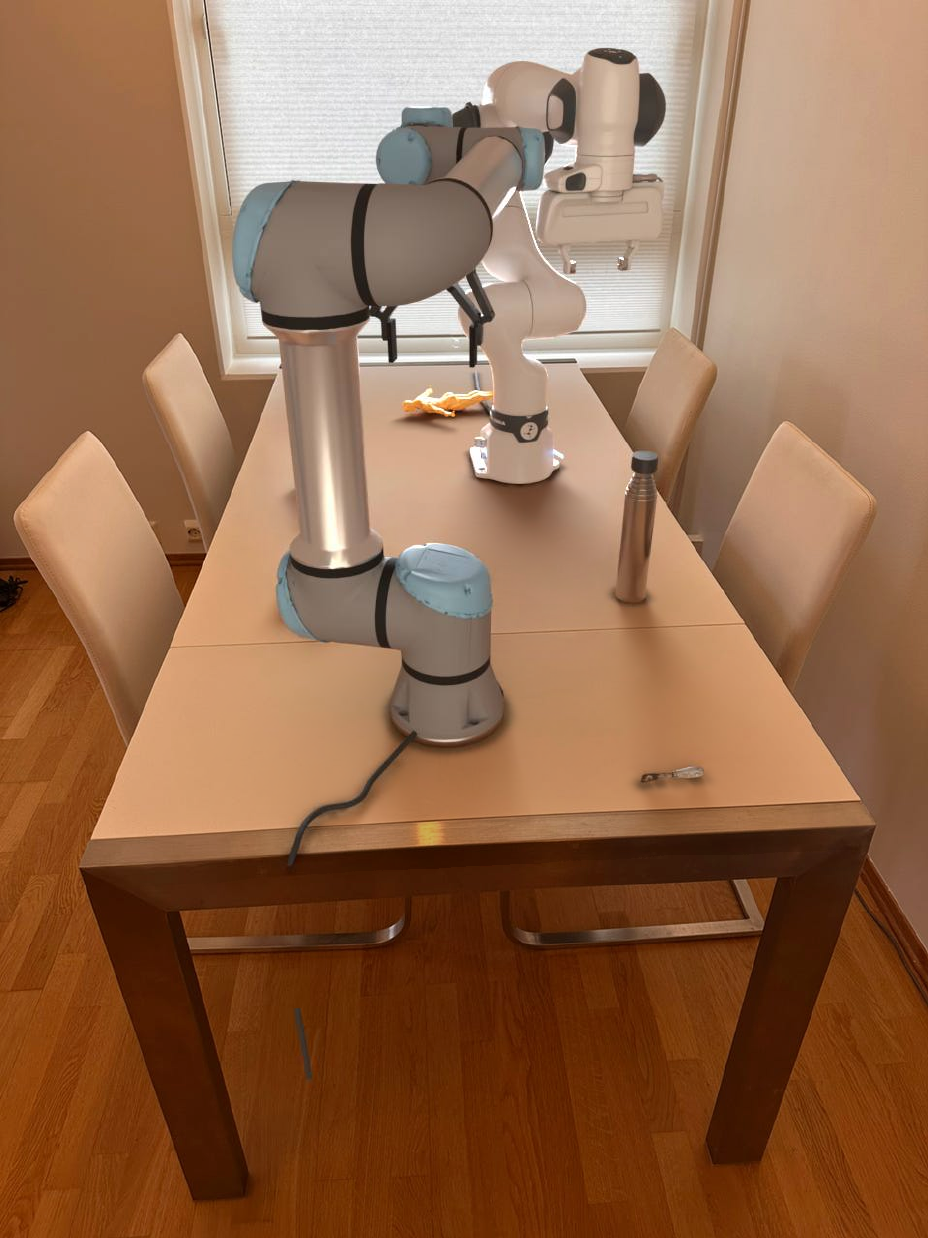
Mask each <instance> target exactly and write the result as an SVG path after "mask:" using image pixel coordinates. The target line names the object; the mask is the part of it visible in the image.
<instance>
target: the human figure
mask: <svg viewBox="0 0 928 1238" xmlns="http://www.w3.org/2000/svg"><path fill="white" fill-rule="evenodd" d="M424 391H425V392H423V393H422V394H420V395H418V396H416V398H415V399H414V400H404V401H403V402H402V411H404V412H405V413H410V414H412V413H414V412H417V408H418V409H420V410H421V411H423V412H424V413H427V414H439V415H443V416H444V417H449V416H450V417H451V418H452V417H453V418H454V417H455V416H456V414H455V411H462V410H464V409H467V408H469V407H471V406H473V405H476V404H478V403H482V401H485V402H486V401H488V400H493V390H491V391H481V390H480V391H481V392H480V391H477V389H476V390H473V391H470V392H469V393H468V394H460V393H457V394H455V393H453V392H446V393H444V394H443V395H442V396H441V397H440V398H434V397H429V396H430V395H432V394H433V392H434V391H433V389H432V385H429V387H428V389H424ZM450 410H452V411H450Z"/></svg>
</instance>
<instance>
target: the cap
mask: <svg viewBox="0 0 928 1238" xmlns="http://www.w3.org/2000/svg"><path fill="white" fill-rule="evenodd" d="M630 463H631V465H630V468H631V471H632V472H634V473H635V472H636V473H640V474H651V473H652V474H654V473H656V472H657V471H658V467H659V454H657V452H656V453H655V452H654V451H648V450H638V451H635V452H633V453H632V456H631V462H630Z"/></svg>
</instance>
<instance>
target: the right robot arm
mask: <svg viewBox="0 0 928 1238" xmlns="http://www.w3.org/2000/svg"><path fill="white" fill-rule="evenodd" d="M639 67H640V66H639V61H638V57H637V56H636V55H635V54H634V53H633V52H631V51H629V50H626V49H622V48H615V47H598V48H594V49H591V50H589V51H587V53H585V55H584V57H583V60H582V64H581V66H580V67H579V68H578V69H577V70H576V71H575V72H573V73H572V74H571V73H567V72H564V71H561V70H558V69H555V68H553V67H549V66H547V65H544V64H540V63H537V62H534V61H528V60H527V61H526V60H518V61H511V62H507V63H504V64H502V65H500V66H499V67H497V68H496V69H495V70H493V71H492V72H491V73H490V75H489V76H488V78H487V80H486V82H485V84H484V89H483V99H482V102H480V103H479V104H472V102H471V101H468V102H466V103H465V105H464V106H463V108H461V109H458V110H457V111H455V112H452V119H453V127H468V128H503V127H516V126H520V127H522V128H535V129H539V130H540V131H541V132H542V133H543V136H544V142H545V164H544V167H545V166H546V165H547V163H548V162H549V161H550V159H551V157H552V155H553V152H554V151H553V150H554V144H555V142H556V143H557V144H559V145H560V146H561V145H562V146H566V147H570V148H571V147H572V148H573V147H576V149H575V155H574V161H572V162H570V163H568V164H565V165H563V166H560V167H558V168H555V169H553V170H550V171H547V172H546V173H545V174H543V187H544V188H546V189H547V190H545V191H544V192H543V193H542V195H541V196H540V198H539V201H538V207H537V211H536V222H535V237H536V239H537V241H539V242H540V243H541V244H543V245H545V246H556V245H557V246H556V251H557V253H558V254H559V256H560V258H561V260H562V263H563V265H562V272H563V274H564V275H563V274H561V273H559V271H557V270H556V269H555V268H554V267H553V266H552V265H551V264H550V263H549V262H548V261H547V260H546V258H545V257H544V256H543V254H542V253H541V251H540V249H539V248H538V245H537V243H536V240H535V237H534V233H533V230H532V227H531V223H530V219H529V217H528V213H527V209H526V206H525V202H524V200H523V196H522V192H518V191H514V192H513V194H512V195H511V197H510V198H509V200H508V202H507V203H506V205H505V206H504V208H503V209H502V211H501V213H500V214H499V216H498V217H497V219H496V220H495V222H494V224H493V237H492V241H491V244H490V246H489V248H488V251H487V252H486V254H485V255H484V257H483V259H482V260H481V261H480V263H481V264H482V266H483V268H484V269H485V270H486V272H487V273H488V274H489V275H491V276H492V277H494V278H496V279H498V280H500V281H501V282H493V283H487V284H482V286H483V288H484V290H485V293H486V295H487V297H488V299H489V301H490V304H491V306H492V308H493V310H494V312H495V317H494V319H493V320H492V321H491V322H487V323H485V324H484V332H483V343H482V345H481V346H478V348H480V350H481V351H482V352H483V354H484V355H485V357H486V359H487V361H488V363H489V367H490V369H491V376H492V377H491V378H492V391H493V398H492V402H493V403H491V404H492V406H491V408H490V406H489V405H488V404H487V402H486V400H485V401H482V402H481V403H482V405H483V407H484V408H485V410H486V411H487V413H488V414H489V422H488V423H487V424H486V425H485V426H483V427H482V428H481V430H480V431H479V436H478V437H477V436H476V437H474V446H473V447H470V449H469V456H470V460H471V464H472V467H473V471H474V475H475V477H477V478H480V479H489V480H492V481H493V480H494V481H497V482H500V483H506V484H518V485H523V484H524V485H525V484H532V483H539V482H542V481H544V480H545V479H547V478H549V477H550V476H551V475H552V473H553V472H554V471H556V470H558V469H559V468H560V462H559V460H557V459H555V456H557V457H559V458H561V459H562V460H563V459H564V455H563V454H562V453H560V452H558V451H557V450H555V442H554V441H555V439H554V436H555V435H554V432H553V430H552V429H551V428H550V427H549V419H550V413H549V406H548V387H549V374H548V370H547V369H546V366H545V365H544V364H543V363H542V362H541V361H540V360H538V359H536V358H534V357H532V356H531V355H528V354H525V353H524V351H523V342H525V341H531V340H543V339H554V338H559V337H562V336H565V335H569V334H571V333H574V332H577V331H579V329H580V327H581V326H582V324H583V322H584V320H585V318H586V314H587V300H586V296H585V293H584V292H583V290H582V288H581V287H580V285H578V283H576V282H575V281H573V280H571V279H569V278H567V277H565V275H575V274H576V272H577V269H576V268H577V262H576V261H574V260H571V258H570V256H569V253H568V252H571V250H572V249H571V248H572V245H573V244H574V245H577V244H591V243H608V242H625V246H626V247H627V248H626V250H625V252H624V254H623V255H622V257H617V270H618V271H620V272H623V271H630V270H631V267H632V266H631V265H632V259H633V258H634V256H635V255H636V253H637V252H638V250H639V249H640V242H641V241H643V240H656V239H658V237H659V236H660V235H661V233H662V232H663V224H664V223H663V220H664V217H663V216H664V215H663V214H664V213H663V211H664V210H663V209H664V208H663V200H664V195H665V182H664V180H663V179H662V177H660V176H658V174H656V173H648V174H642V173H636V174H635V173H634V171H635V170H634V168H635V158H636V155H635V154H636V148H635V147H638V148H639V147H640V148H641V147H642V148H643V147H645V146H646V145H647V144H648V143H650V141H651V140H653V138H654V137H655V136H656V135H657V133H658V132H659V130H660V129H661V127H662V126H663V123H664V122H665V117H666V111H667V102H666V101H667V99H666V95H665V93H664V90H663V88H662V87H661V85H660V83H659V82H658V81H657V79H656V78H655V77H654V76H653V75H652V74H651V73H650V72H643V73H640V68H639ZM465 293H466V294H467V296H468V297H469V298H470V300H471V301H472V302H473V304H474V305H475V306H476V307H477V309H478V310H479V311H480V313H481V314H482V312H481V310H480V307H479V305H478V303H477V301H476V299H475V296H474V294H473V292H472V290H471V288H469V289H467V290H466V291H465ZM457 319H458V324H459V326H460V329H461V331H462V332H463V334H464V335H465V336H466V338H467V339H469V326H470V325H471V324H472V321H471V319H470V318H469V317H468V315H467V314H466V313H465V312H464V310H463V309H462V308H461V306H460V305H459V304H458V309H457ZM473 374H474V382H475V388H476V391H480V392H482V391H481V387H480V382H479V376H478V371H477V370H474V372H473Z"/></svg>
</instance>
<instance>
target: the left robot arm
mask: <svg viewBox="0 0 928 1238" xmlns="http://www.w3.org/2000/svg"><path fill="white" fill-rule="evenodd" d="M452 114H453V111H451V109H450V108H449V107H447V106H438V105H437V106H436V105H435V106H433V105H429V106H426V105H425V106H424V105H421V106H420V105H419V106H407V107H404V108H403V109H402V111H401V113H400V115H401V117H400V126H397V127H396V128H393V129H392V130H391V131H390V132H388V133H387V134H385V135H384V136H383V137H382V139H381V140H380V142H379V143H378V145H377V149H376V153H375V165H376V170H377V172H378V174H379V175H378V176H380V178H381V179H382V181H383V182H381V183H361V182H337V181H336V182H335V181H334V182H333V181H308V180H295V179H291V180H287V181H273V182H272V181H271V182H263V183H261V184H258V185H257V186H255V187H254V188H252V189H251V190H250V191H249V192H248V193H247V195H246V197H245V198H244V199H243V201H242V203H241V206H240V208H239V211H238V214H237V216H236V220H235V224H234V229H233V236H232V246H231V247H232V248H231V260H232V262H231V263H232V270H233V276H234V277H233V278H234V280H235V283H236V285H237V287H238V288H239V293H240V294H241V295H242V296H243V298H245V299H246V300H248V301H250V302H252V303H253V304H254V303H255V304H258V303H259V307H260V314H261V315H260V316H261V322H262V325H263V326H264V327H265V328H266V329H267V330H268V331H269V332H271V333H272V334H273V335H274V336H275V337H276V338H277V339H278V346H279V347H278V349H279V355H280V365H281V372H282V373H281V374H282V383H283V392H284V400H285V411H286V419H287V427H288V438H289V447H290V455H291V465H292V473H293V481H294V482H293V483H294V490H295V500H296V509H297V517H298V518H297V519H298V526H299V533H298V534H297V535H296V536H295V537H294V538H293V539H292V540H291V542H290V544H289V549H288V550H287V551H286V552H285V553H284V554H283V555H282V557H281V558H280V561H279V564H278V567H277V572H276V578H277V584H276V585H275V597H276V598H275V599H276V602H277V608H278V611H279V615H280V617H281V619H282V621H283V624H284V625H285V627H286V628H287V629H288V631H290V633H293V634H294V635H295V636H298V637H299V638H303V639H309V640H315V641H317V642H320V643H326V644H327V643H336V644H337V643H338V644H346V645H354V646H364V647H371V648H372V647H373V648H379V649H380V648H381V649H390V650H398V651H400V655H401V667H400V669H399V672H398V675H397V678H396V681H395V684H394V687H393V690H392V693H391V696H390V718H391V721H392V724H393V725H394V727H395V728H396V729H397V731H398V732H399V733H400V734H402V735H403V736H404V737H406V738H405V739H404V740H403V741H402V742H401V743H400V744H399V745H398V747H397V748H396V749H395V750H393V752H392V753H391V754H390V755H389V756H388V757H387V758H386V759H385V760H384V761H383V762H382V764H380V766H379V767H378V768H377V769H376V770H375V771H374V772H373V774H371V775H370V777H369V778H368V780H367V781H366V783H365V785H364V786H363V789H362V791H360V794H358V795H357V796H356V797H355V798H352V799H351V800H348V801H342V802H336V803H329V804H325V805H322V806H319V807H318V808H316V809H315V810H313V811H312V812H311V813H309V814H308V815H307V816H306V817H305V818H304V820H303V821H302V822H301V823H300V825H299V828H298V829H297V832H296V834H295V837H294V840H293V843H292V845H291V850H290V852H289V855H288V858H287V862H286V866H287V867H291V866H293V865H294V864H295V861H296V857H297V854H298V852H299V848H300V845H301V842H302V839H303V836H304V833H305V831H306V829H307V827H308V826H309V825H310V824H311V823H313V821H314V820H315V819H316V818H317V817H319V816H320V815H322V814H323V813H326V812H330V811H337V810H343V809H348V808H351V807H354V806H357V805H358V804H360V803H361V802H362V801H363V800H365V799H366V797H367V795H368V794H369V792H370V790H371V788H372V786H373V784H374V783H375V782H376V781H377V779H379V777H380V776H381V775H382V774H383V772H384V771H385V770H387V768H388V767H389V766H390V765H391V764H392V763H393V762H394V761H395V760H396V759H397V758H398V757H399V755H400V754H401V753H402V752H403V751H404V750H405V749H406V748H407V747H408V746H409V745H410V743H412V741H413V742H415V743H417V744H420V745H421V744H422V745H425V746H430V747H437V748H454V747H455V748H457V747H463V746H467V745H471V744H473V743H476V742H480V741H481V740H483V739H485V738H486V737H488V736H489V735H491V734H492V733H493V732H494V731H495V730H496V729H498V727H499V726H500V724H501V722H502V720H503V717H504V698H505V694H504V690H503V688H502V687H501V684H500V683H499V681H498V679H497V677H496V674H495V672H494V668H493V666H492V664H491V654H492V653H491V651H492V649H491V648H492V647H491V645H492V643H491V642H492V641H491V640H492V608H493V606H494V605H493V604H494V598H493V593H492V584H491V581H492V580H491V574H490V571H489V569H488V567H487V565H486V564H485V563H484V562H483V561H482V560H480V559H479V557H478V556H477V555H476V554H474V553H472V552H470V551H468V550H466V549H465V548H462V547H459V546H455V545H451V544H447V543H439V542H427V543H424V545H420V544H414V545H412V546H410V547H407V548H405V549H404V550H403V551H401V553H400V554H399V555H398V557H392V556H385V553H384V552H385V551H384V541H383V538H382V536H381V534H379V533H378V532H376V531H375V530H374V529H373V528H371V521H370V508H369V493H368V479H367V463H366V462H367V461H366V448H365V447H366V446H365V431H364V418H363V417H364V415H363V402H362V401H363V400H362V386H361V385H362V384H361V371H360V355H359V354H360V353H359V337H358V336H359V333H360V332H361V331H362V330H363V329H364V328H365V326H366V325H368V323H369V322H370V321H371V318H375V319H378V320H379V321H380V331H381V332H380V333H381V334H380V335H381V339H382V341H383V342H387V356H388V357H387V358H388V359H387V361H388V364H394V362H396V361H397V359H398V343H397V342H398V340H397V339H398V338H397V320H396V318H393V317H392V315H393V314H394V313H395V311H396V310H397V309H398V308H399V307H400V306H407V305H410V304H414V303H418V302H421V301H425V300H426V299H427V300H428V299H429V298H432V297H434V296H437V295H438V294H441V293H442V292H444V291H447V293H449V294H450V295H451V296H452V297H453V299H454V300H455V302H456V303H457V304H458V306H459V305H460V306H461V308H462V309H463V310H464V312H465V313H466V314H467V315H468V317H469V318H470V319H471V321H472V324H471V325H470V326H469V338H468V343H469V344H468V354H469V355H468V360H469V363H468V368H471V369H474V368H475V367H476V365H477V364H478V347H479V346H481V345H482V343H483V332H484V324H485V323H487V322H491V321H492V320H493V319H494V317H495V312H494V310H493V308H492V306H491V304H490V301H489V299H488V297H487V295H486V293H485V290H484V288H483V284H482V281H481V279H480V277H479V275H478V273H477V267H478V266H479V264H480V263H481V260H482V259H483V257H484V255H485V254H486V252H487V251H488V248H489V246H490V244H491V241H492V237H493V224H494V222H495V220H496V219H497V217H498V216H499V214H500V213H501V211H502V209H503V208H504V206H505V205H506V203H507V202H508V200H509V198H510V197H511V195H512V194H513V192H514V191H518V192H521V193H523V192H527V191H528V192H529V191H536V190H538V189H540V187H541V186H542V183H543V181H544V175H545V174H544V173H545V166H544V164H545V142H544V136H543V133H542V132H541V131H540V130H539V129H535V128H522V127H520V126H516V127H503V128H468V127H453V119H452ZM465 278H466V281H467V284H468V285H469V289H471V290H472V292H473V294H474V296H475V299H476V301H477V303H478V305H479V307H480V310H481V312H482V314H481V313H480V311H479V310H478V309H477V307H476V306H475V305H474V304H473V302H472V301H471V300H470V298H469V297H468V296H467V294H466V291H465V290H464V289H463V288H462V286H460V284H459V282H460V281H462V280H463V279H465ZM382 307H385V308H384V309H383V308H382ZM293 1013H294V1014H293V1015H294V1019H295V1022H296V1028H297V1034H298V1038H299V1043H300V1048H301V1053H302V1060H303V1065H304V1072H305V1079H306V1080H307V1081H310V1080H312V1079H313V1076H312V1069H311V1061H310V1054H309V1050H308V1048H309V1047H308V1043H307V1038H306V1034H305V1028H304V1023H303V1018H302V1013H301V1008H300V1007H297V1008H294V1009H293Z"/></svg>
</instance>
